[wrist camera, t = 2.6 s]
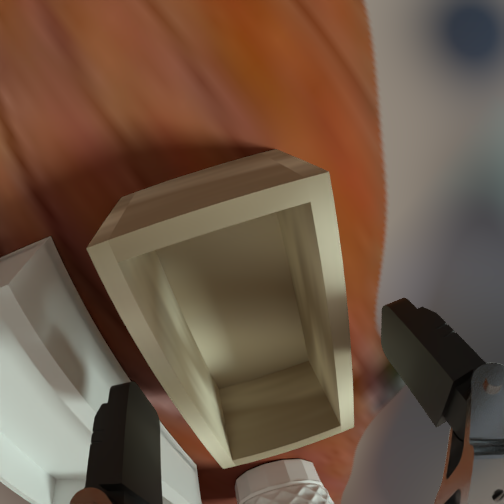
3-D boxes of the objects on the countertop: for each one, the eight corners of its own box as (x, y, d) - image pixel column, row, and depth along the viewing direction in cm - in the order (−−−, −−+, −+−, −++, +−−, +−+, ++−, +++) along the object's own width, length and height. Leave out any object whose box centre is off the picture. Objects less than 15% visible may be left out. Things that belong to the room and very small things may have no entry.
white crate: (196, 465, 19) (202, 512, 15) (56, 477, 18) (50, 515, 14) (50, 235, 11) (8, 284, 8) (-92, 304, 10) (-124, 342, 7)
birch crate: (317, 356, 17) (354, 426, 12) (210, 390, 16) (223, 469, 12) (274, 148, 12) (328, 172, 7) (122, 196, 11) (86, 248, 7)
